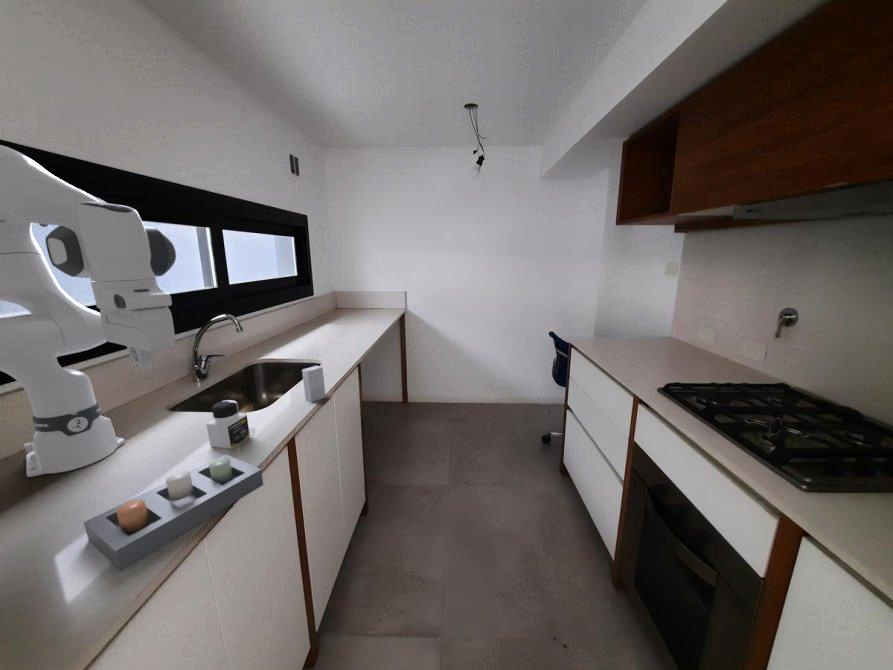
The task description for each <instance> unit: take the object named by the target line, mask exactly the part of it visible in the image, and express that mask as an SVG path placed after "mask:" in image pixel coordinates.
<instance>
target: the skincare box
mask: <svg viewBox="0 0 893 670" xmlns="http://www.w3.org/2000/svg"><path fill="white" fill-rule="evenodd" d="M323 370H324V369H323V367H322V366H320V365H313V366H311V367H306V368H303V369H301V373H302V374H301V375H302V382H303V389H304V397H305V401H307V402H309V403H314V402H317V401H319V400H322V399H324V398H326V397H327V396H326V387H325V378H324V371H323Z"/></svg>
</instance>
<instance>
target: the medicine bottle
mask: <svg viewBox="0 0 893 670" xmlns="http://www.w3.org/2000/svg"><path fill="white" fill-rule="evenodd" d="M211 411H212V415H213V420H211V421H209V422H207V423H206V428H207V434H208V441H209V446H210V447H211V448H220V449H230V450H233V448H235V447H237V446H238V445H240V444H241V443H243V442H244V441H245V440H247V439H248V438H250V437H251V435H250V428H249V423H248V415H247V414H243V413H242V414H241V413H240V412H239V407H238V402H237V401H236V400H232V399H231V400H230V399H227V400H221V401H219V402H218V401H217V403H214V404H213V405H212V406H211Z"/></svg>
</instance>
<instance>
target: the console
mask: <svg viewBox="0 0 893 670" xmlns="http://www.w3.org/2000/svg"><path fill="white" fill-rule="evenodd" d="M223 458H228V459H230V463H231V469H232V475H233V477H232V479H231V480H229V481H228V482H226V483H223V484H219V483H217V482H215V481H213V480H212V479H211V474H210V469H209V465H210V464H211V463H212V462H214V461H216V460H218V459H223ZM189 472H190V475H191V480H192V485H193V490H194V491H193V493H192V494H191V495H189V496H188V497H186V498H183V499H180V500H170V497H169V493H168V488H167V484H166V482H165V483H163V484H159V485H158V486H157V487H154V488H152V489H149V490H148V491H145V492H144V493H142V494H140V495H137V496H135V497H133V498H132V499H129V500H127V501H125V502H123V503H121V504H119V505H117V506H115V507H113V508H110V509H108V510H107V511H104V512H102V513H100V514H98V515H95V516H93V517H91V518H90V519H87V520H85V521H84V522H83V525H84V530H85V532H86V536H87V539H88V542H89V543H91V544H92V545H93V546H94V547H95V548H96V549H97V550H98V551H99V552H100V553H101V554H102V555H103V556H104V557H105V558H106V559H108V561H109V562H110V563H111V564H113V565H114V566H115V568H117V569H118V570H119V571H120V572H121V571H123V570H125V569H127V568H129V567H130V566H132V565H133V564H135V563H137V562H138V561H140V560H142V559H143V558H145V557H147V556H149V555H150V554H151V553H153V552H155V551H156V550H158V549H160V548H162V547H163V546H165V545H167V544H168V543H169V542H171V541H173V540H174V539H176V538H178V537H180V536H181V535H183V534H185V533H186V532H188V531H189V530H191V529H192V528H194V527H196V526H198V525H200V524H201V523H203V522H204V521H206V520H208V519H209V518H211V517H212V516H214V515H216V514H218V513H219V512H221V511H222V510H224V509H226V508H228V507H230V506H231V505H233V504H234V503H236V502H237V501H239V500H241V499H242V498H244V497H246V496H247V495H250V494H251V493H252V492H254V491H256V490H258V489H259V488H261V487H262V486H263V485H264V481H263V474H262V473H263V472H262V469H261V468H258V467H256V466H254V465H252V464H250V463H247V462H245V461H243V460H241V459H238V458H236V457H234V456H233V455H229V454H227V453H225V454H224V455H221V456H219V457H217V458H215V459H213V460H211V461H209V462H206V463H205V464H203V465H200V466H199V467H197V468H194V469H192V470H189ZM135 500H144V501H145V504H146V508H147V512H148V517H149V522H148V524H147V525H146V526H144V527H143V528H141V529H140V530H137V531H135V532H132V533H124V532H123V531H121V527H120V524H119V520H118V516H117V510H118V509H119V508H120V507H121V506H123V505H125V504H126V503H129V502H131V501H135Z"/></svg>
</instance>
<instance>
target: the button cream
mask: <svg viewBox="0 0 893 670" xmlns="http://www.w3.org/2000/svg"><path fill="white" fill-rule="evenodd" d="M165 483H166V484H167V488H168V493H169V497H170V500H180V499H183V498H186V497H188V496H189V495H191V494H192V493H193V491H194V490H193V485H192V480H191V475H190V470H189V471H188V470H182V471H181V470H180V471H178V472H175V473H172V474H170V475H169V476H168V477H167V478H166V479H165Z"/></svg>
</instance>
